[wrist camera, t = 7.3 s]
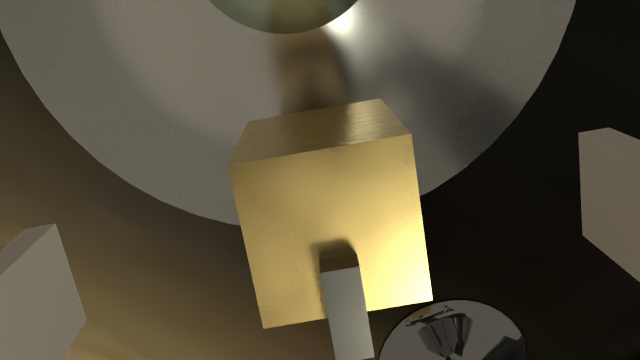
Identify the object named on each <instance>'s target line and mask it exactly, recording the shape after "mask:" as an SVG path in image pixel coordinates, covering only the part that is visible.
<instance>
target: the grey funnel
mask: <svg viewBox="0 0 640 360" xmlns="http://www.w3.org/2000/svg"><path fill="white" fill-rule="evenodd" d="M378 360H528V352H527V347H526V343H525V340H524V337H523V336H522V334H521V332H520V330H519V328H518V327H517V326H516V325H515V323H514V322H513V321H512V320H511V319H510V318H509V317H508V316H506V315H505V314H504V313H503V312H501V311H500V310H498V309H496V308H494V307H492V306H490V305H488V304H485V303H482V302H478V301H473V300H466V299H451V300H445V301H439V302H435V303H432V304H429V305H426V306H424V307H422V308H420V309H418V310H416V311H414V312H412V313H411V314H409V315H408V316H407V317H405V318H404V319H403V320H401V321H400V322H399V323H398V325H397V326H396V327H395V328H394V329H393V330H392V331H391V333H390V334H389V336H388V337H387V338H386V340H385V342H384V344H383V346H382V349H381V351H380V355H379V359H378Z"/></svg>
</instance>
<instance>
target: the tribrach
mask: <svg viewBox="0 0 640 360" xmlns="http://www.w3.org/2000/svg"><path fill="white" fill-rule="evenodd" d="M575 1H576V0H0V29H1V32H2V35H3V37H4V39H5V41H6V43H7V45H8V46H9V48H10V50H11V52H12V54H13V56H14V58H15V60H16V62H17V64H18V66H19V68H20V70H21V71H22V73H23V75H24V76H25V78H26V79H27V81H28V82H29V84H30V85H31V86H32V88H33V89H34V91H35V92H36V94H37V95H38V97H39V98H40V100H41V101H42V103H43V104H44V106H45V107H46V108H47V109H48V110H49V111H50V113H51V114H52V115H53V116H54V117H55V118H56V119H57V121H58V122H59V123H60V124H61V125H62V126H63V128H64V129H65V130H66V131H67V132H68V133H69V134H70V136H71V137H73V138H74V139H75V140H76V141H77V142H78V143H79V144H80V145H81V146H82V147H84V148H85V149H86V150H87V151H88V152H89V153H90V154H91V155H92V156H93V157H94V158H96V159H97V160H98V161H99V162H100V163H102V164H103V165H104V166H106V167H107V168H109V169H110V170H111V171H113V172H114V173H116V174H117V175H118V176H120V177H121V178H123V179H124V180H125V181H127V182H128V183H130V184H131V185H133V186H135V187H137V188H139V189H141V190H142V191H144V192H146V193H148V194H150V195H152V196H153V197H155V198H157V199H159V200H161V201H163V202H165V203H168V204H170V205H173V206H175V207H178V208H180V209H183V210H185V211H188V212H190V213H193V214H195V215H199V216H202V217H206V218H210V219H214V220H217V221H221V222H225V223H229V224H234V225H241V224H240V220H239V215H238V211H237V206H236V202H235V197H234V193H233V188H232V184H231V179H230V174H229V170H228V163H229V161H230V159H231V157H232V155H233V153H234V151H235V148H236V146H237V144H238V142H239V140H240V138H241V135H242V133H243V131H244V129H245V127H246V125H247V123H248V121H252V120H258V119H264V118H270V117H275V116H281V115H287V114H293V113H298V112H304V111H310V110H316V109H322V108H327V107H333V106H339V105H345V104H350V103H356V102H362V101H368V100H374V99H379V98H380V99H381V100H382V101H383V102H384V103H385V104H386V105H387V107H388V108H389V109H390V110H391V111H392V112H393V113H394V115H395V116H396V117H397V118H398V119H399V120H400V121H401V123H402V124H403V125H404V126H405V127H406V128H407V129H408V131H409V132H410V133H411V134H412V142H413V150H414V158H415V166H416V173H417V181H418V189H419V197H420V196H422V195H424V194H426V193H427V192H429V191H431V190H433V189H435V188H436V187H438V186H439V185H441V184H442V183H444V182H445V181H447V180H448V179H450V178H451V177H453V176H454V175H456V174H457V173H458V172H460V171H461V170H463V169H464V168H465V167H467V166H468V165H469V164H470V163H471V162H472V161H473V160H475V159H476V158H477V157H478V156H479V155H480V154H481V153H483V152H484V151H485V150H486V149H487V148H488V147H489V146H491V145H492V144H493V142H494V141H495V140H496V139H497V138H498V137H499V136H500V135H501V134H502V133H503V131H504V130H505V129H506V128H507V127H508V126H509V125H510V124H511V123H512V121H513V120H514V119H515V118H516V117H517V116H518V114H519V113H520V111H521V110H522V108H523V107H524V106H525V104H526V103H527V101H528V100H529V99H530V97H531V96H532V94H533V93H534V92H535V90H536V89H537V87H538V86H539V84H540V82H541V80H542V78H543V77H544V75H545V73H546V71H547V69H548V67H549V66H550V64H551V62H552V60H553V58H554V56H555V54H556V53H557V51H558V48H559V46H560V43H561V41H562V38H563V36H564V33H565V30H566V28H567V25H568V23H569V20H570V18H571V15H572V12H573V9H574V5H575Z"/></svg>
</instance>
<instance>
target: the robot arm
mask: <svg viewBox="0 0 640 360" xmlns="http://www.w3.org/2000/svg"><path fill="white" fill-rule="evenodd" d="M578 136H579V161H580V186H581V211H582V235H583V236H584V237H585V238H587V239H588V240H589V241H590V242H591V243H593V244H594V245H595V246H596V247H598V248H599V249H600V250H601V251H602V252H604V253H605V254H606V255H607V256H609V257H610V258H611V259H612V260H613V261H615V262H616V263H617V264H618V265H619V266H621V267H622V268H623V269H624V270H626V271H627V272H628V273H629V274H630V275H632V276H633V277H634V278H635V279H637V280H638V281H639V282H640V140H638V139H636V138H634V137H631V136H629V135H626V134H624V133H621V132H619V131H616V130H614V129H612V128H603V129H598V130H592V131H586V132H580V133H578ZM86 321H87V319H86V316H85V313H84V310H83V307H82V304H81V301H80V298H79V295H78V291H77V288H76V285H75V282H74V279H73V276H72V273H71V270H70V267H69V263H68V260H67V257H66V254H65V251H64V248H63V245H62V242H61V239H60V236H59V232H58V229H57V226H56V224H50V225H44V226H39V227H33V228H27V229H25V230H23V231H22V232H21V233H20V234H19V235H18V236H16V237H15V238H14V239H13V240H12V241H11V242H9V243H8V244H7V245H6V246H5V247H4V248H2V249H1V250H0V360H62V358H63V357H64V355H65V353H66V352H67V350H68V349H69V347H70V346H71V344H72V343H73V341H74V339H75V338H76V336H77V335H78V333H79V332H80V330H81V329H82V327H83V326H84V324H85V322H86Z"/></svg>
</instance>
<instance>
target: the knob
mask: <svg viewBox="0 0 640 360" xmlns="http://www.w3.org/2000/svg"><path fill="white" fill-rule="evenodd" d="M228 170H229V174H230V179H231V184H232V188H233V193H234V197H235V202H236V206H237V211H238V215H239V220H240V224H241V229H242V234H243V238H244V243H245V247H246V252H247V256H248V261H249V265H250V270H251V274H252V279H253V284H254V288H255V293H256V297H257V302H258V306H259V311H260V315H261V320H262V324H263V329H264V328H270V327H276V326H282V325H288V324H294V323H300V322H306V321H312V320H318V319H324V318H328V320H329V325H330V331H331V336H332V342H333V347H334V353H335V358H336V360H361V359H367V358H373V357H374V351H373V345H372V338H371V332H370V326H369V320H368V314H367V311H372V310H378V309H384V308H390V307H396V306H402V305H408V304H414V303H420V302H426V301H432V300H433V298H432V291H431V283H430V275H429V267H428V259H427V251H426V244H425V236H424V228H423V220H422V212H421V205H420V197H419V189H418V181H417V173H416V166H415V158H414V150H413V142H412V134H411V133H410V132H409V131H408V129H407V128H406V127H405V126H404V125H403V124H402V123H401V121H400V120H399V119H398V118H397V117H396V116H395V115H394V113H393V112H392V111H391V110H390V109H389V108H388V107H387V105H386V104H385V103H384V102H383V101H382V100H381V99H380V98H379V99H374V100H368V101H362V102H356V103H350V104H345V105H339V106H333V107H327V108H322V109H316V110H310V111H304V112H298V113H293V114H287V115H281V116H275V117H270V118H264V119H258V120H252V121H248V123H247V125H246V127H245V129H244V131H243V133H242V135H241V138H240V140H239V142H238V144H237V146H236V148H235V151H234V153H233V155H232V157H231V159H230V161H229V163H228Z"/></svg>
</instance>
